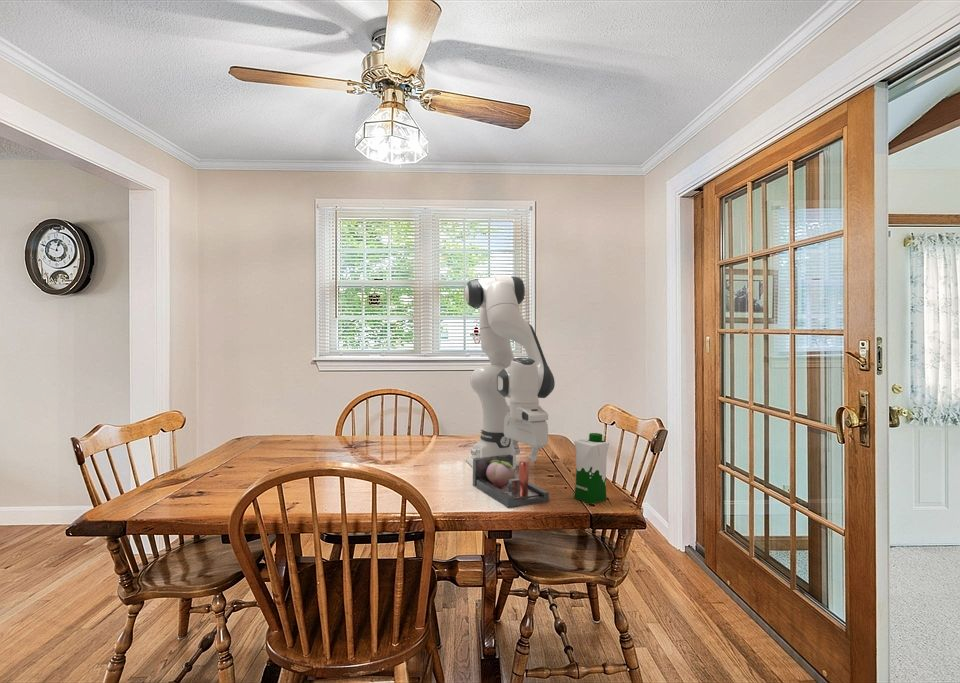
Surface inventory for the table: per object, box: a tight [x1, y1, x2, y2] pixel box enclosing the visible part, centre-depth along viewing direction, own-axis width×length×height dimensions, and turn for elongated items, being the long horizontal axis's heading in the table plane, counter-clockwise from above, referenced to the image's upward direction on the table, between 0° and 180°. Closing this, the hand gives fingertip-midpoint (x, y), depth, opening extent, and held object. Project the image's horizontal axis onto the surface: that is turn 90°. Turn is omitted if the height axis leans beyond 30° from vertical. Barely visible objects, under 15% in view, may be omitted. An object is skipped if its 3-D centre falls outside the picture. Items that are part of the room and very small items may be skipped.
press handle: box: [506, 460, 540, 500], centre depth 159 cm, size 6×10×12 cm, turn 116°
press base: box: [472, 455, 550, 509], centre depth 165 cm, size 24×14×9 cm, turn 26°
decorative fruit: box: [486, 458, 515, 489], centre depth 170 cm, size 9×8×10 cm
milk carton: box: [573, 432, 610, 505], centre depth 160 cm, size 9×9×20 cm
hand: (524, 457), depth 157 cm, fingers open, 8 cm apart
